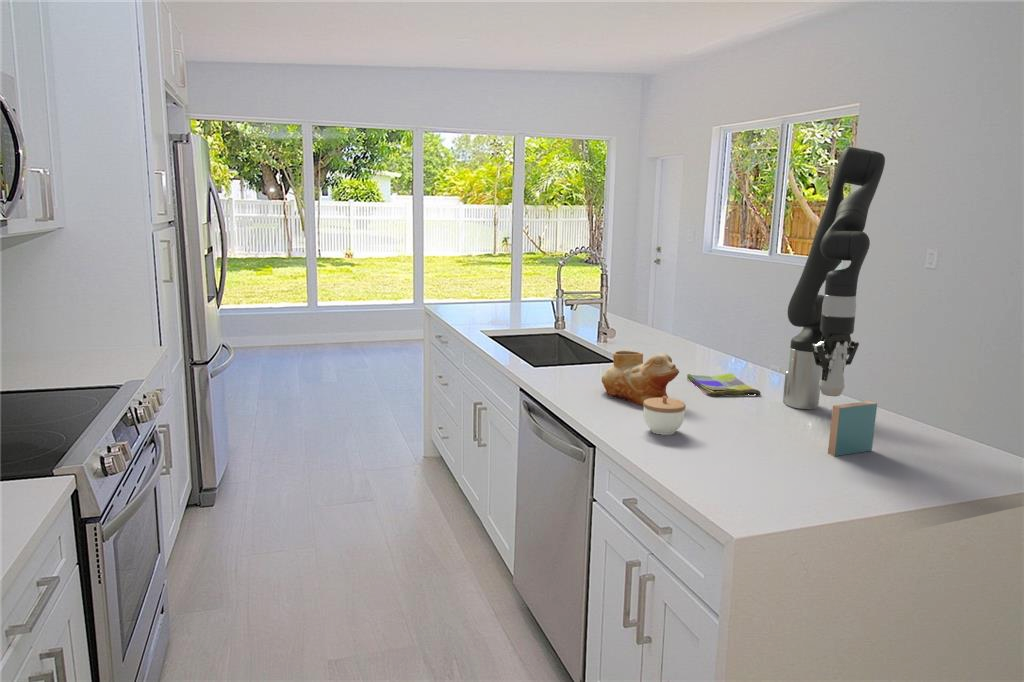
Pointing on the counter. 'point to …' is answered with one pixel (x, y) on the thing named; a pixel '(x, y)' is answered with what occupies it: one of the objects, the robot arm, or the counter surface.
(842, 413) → the tile
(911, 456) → the counter surface
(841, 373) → the salt shaker
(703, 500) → the counter surface
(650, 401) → the lidded jar
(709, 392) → the dish towel
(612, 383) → the ceramic vessel
